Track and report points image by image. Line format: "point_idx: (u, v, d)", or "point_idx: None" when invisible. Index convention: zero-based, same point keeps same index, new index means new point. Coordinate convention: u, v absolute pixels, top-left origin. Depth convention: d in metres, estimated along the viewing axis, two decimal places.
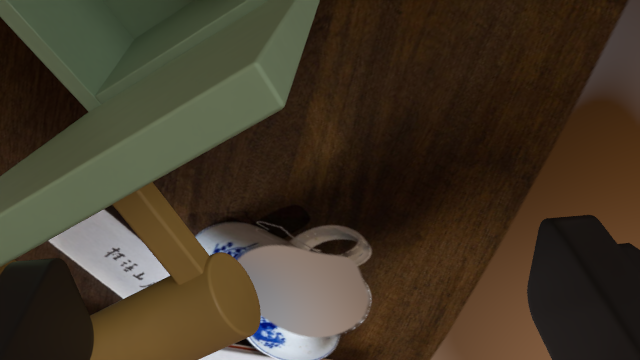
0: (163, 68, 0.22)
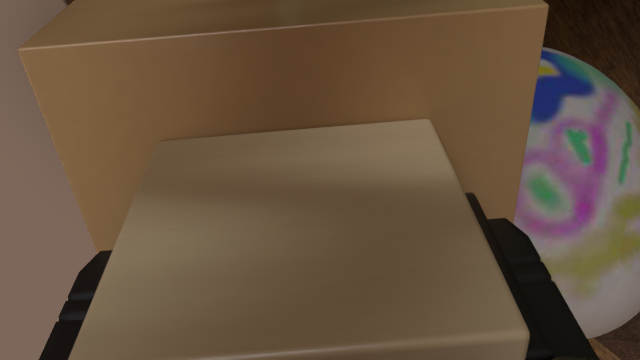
0: None
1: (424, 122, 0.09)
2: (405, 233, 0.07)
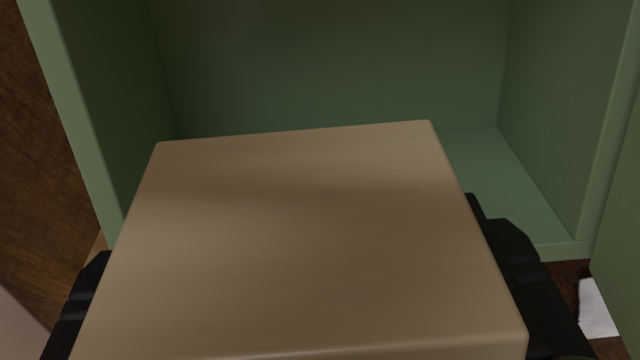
0: None
1: (424, 123, 0.09)
2: (405, 234, 0.07)
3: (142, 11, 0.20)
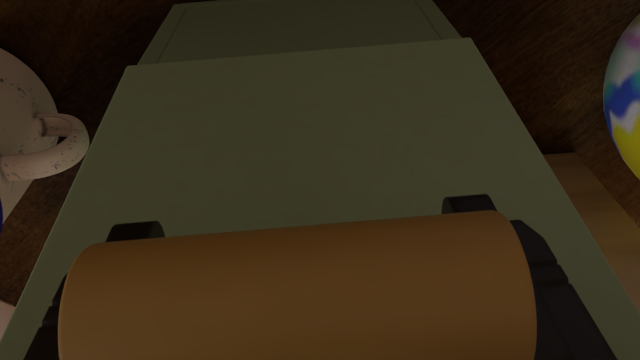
0: None
1: None
2: None
3: None
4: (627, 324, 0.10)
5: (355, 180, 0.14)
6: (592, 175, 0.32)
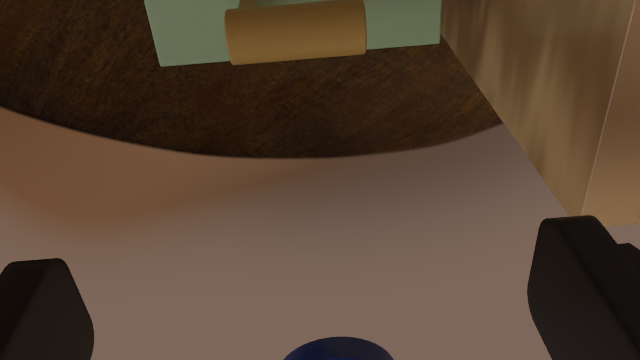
0: None
1: None
2: None
3: None
4: None
5: None
6: None
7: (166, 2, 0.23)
